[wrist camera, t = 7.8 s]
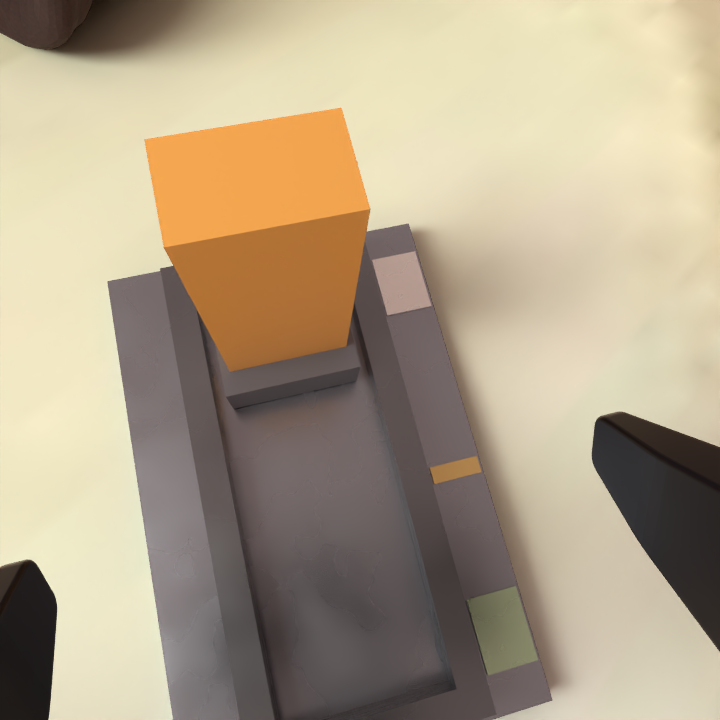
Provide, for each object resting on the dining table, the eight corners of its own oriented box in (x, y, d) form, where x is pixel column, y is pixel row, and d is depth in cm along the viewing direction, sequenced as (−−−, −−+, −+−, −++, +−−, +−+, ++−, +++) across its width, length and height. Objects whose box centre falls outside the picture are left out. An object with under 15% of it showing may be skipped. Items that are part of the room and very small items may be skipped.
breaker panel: (543, 693, 20) (567, 711, 18) (193, 805, 19) (179, 836, 17) (405, 233, 25) (413, 208, 23) (114, 289, 23) (96, 268, 21)
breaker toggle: (356, 380, 22) (395, 242, 11) (233, 408, 21) (154, 289, 11) (331, 283, 23) (346, 74, 12) (213, 308, 22) (123, 108, 12)
